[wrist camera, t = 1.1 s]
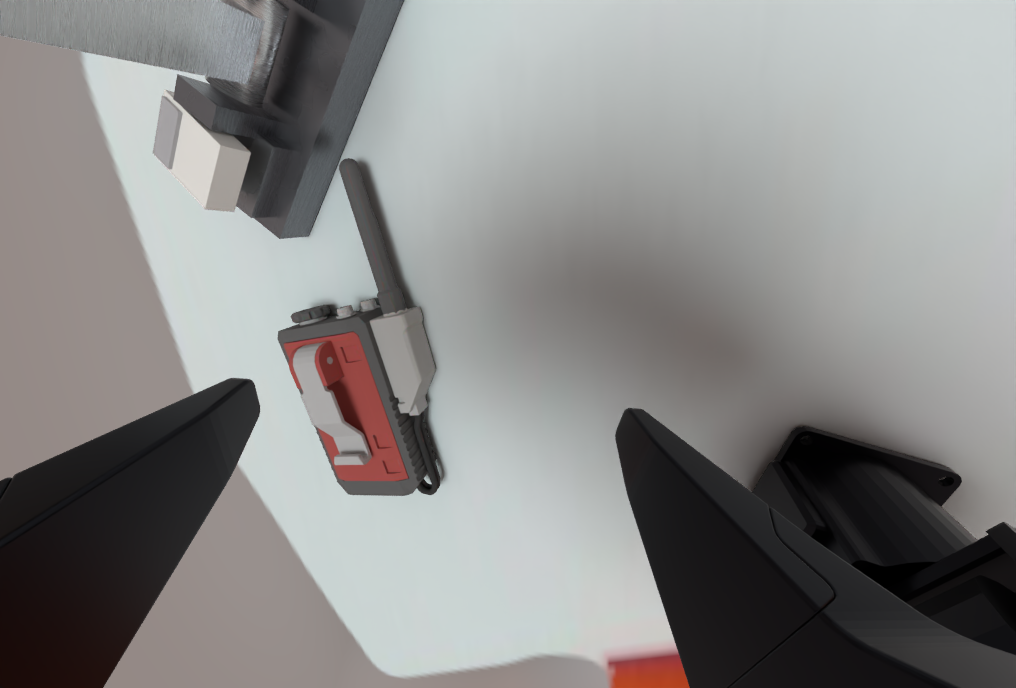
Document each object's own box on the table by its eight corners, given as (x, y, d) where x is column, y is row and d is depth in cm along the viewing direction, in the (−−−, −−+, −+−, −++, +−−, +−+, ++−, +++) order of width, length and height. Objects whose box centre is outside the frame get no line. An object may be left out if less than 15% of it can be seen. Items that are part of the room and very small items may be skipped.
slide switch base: (431, -71, 15) (350, -193, 10) (308, 236, 21) (225, 243, 17) (317, -164, 15) (185, -325, 10) (228, 171, 21) (123, 161, 17)
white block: (251, 152, 16) (216, 144, 15) (233, 211, 17) (201, 208, 16) (197, 100, 17) (160, 88, 15) (184, 161, 18) (149, 154, 17)
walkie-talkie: (474, 478, 24) (381, 156, 19) (446, 530, 21) (317, 141, 15) (368, 478, 27) (260, 198, 22) (325, 524, 23) (180, 196, 18)
